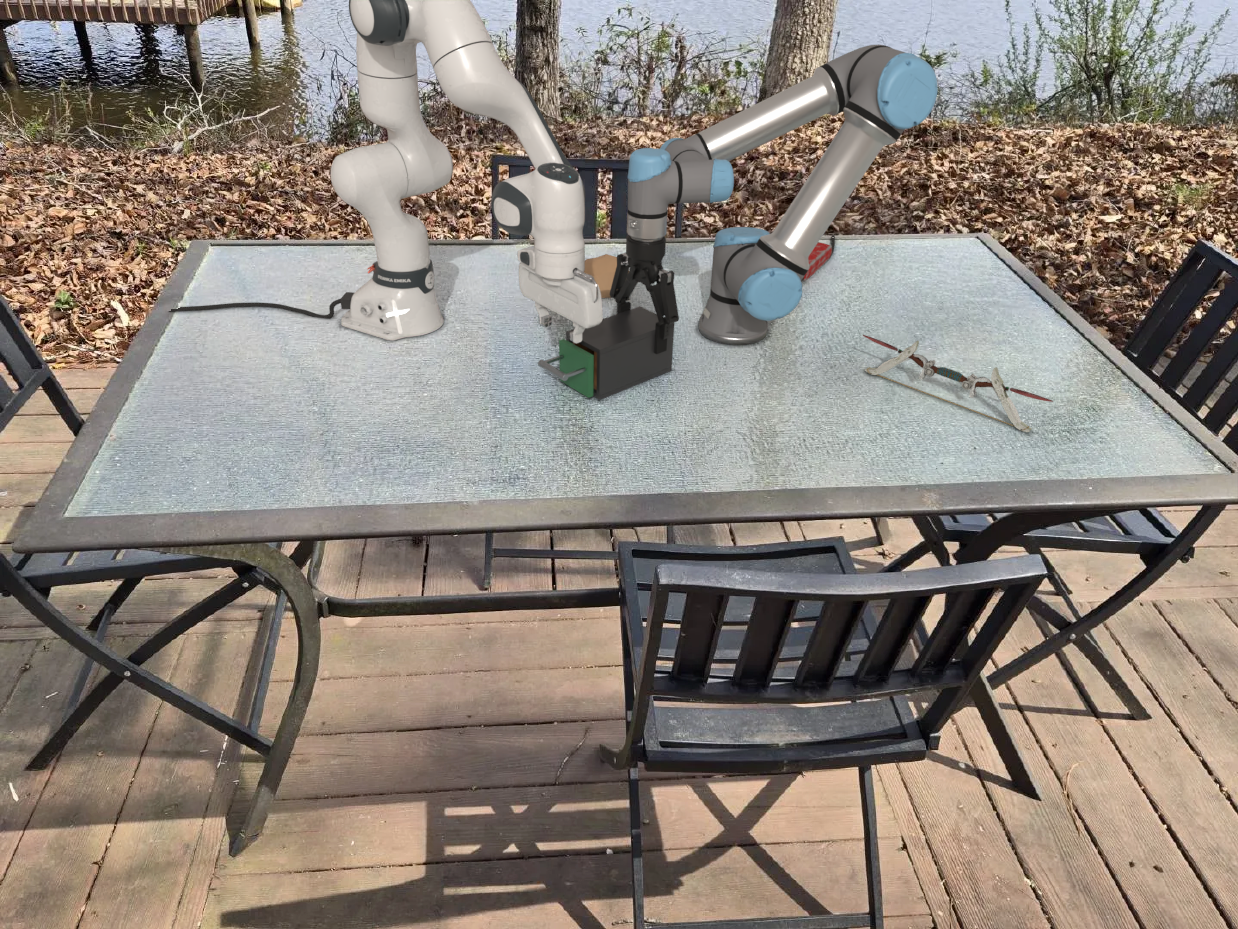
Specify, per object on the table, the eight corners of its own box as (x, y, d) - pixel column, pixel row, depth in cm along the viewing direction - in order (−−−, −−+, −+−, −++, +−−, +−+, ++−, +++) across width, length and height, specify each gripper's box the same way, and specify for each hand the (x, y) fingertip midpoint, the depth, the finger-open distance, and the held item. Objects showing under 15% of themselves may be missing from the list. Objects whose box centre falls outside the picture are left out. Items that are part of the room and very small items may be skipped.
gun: (720, 263, 218) (793, 282, 210) (769, 227, 240) (836, 243, 232) (718, 280, 221) (790, 299, 213) (767, 243, 243) (833, 259, 235)
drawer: (565, 407, 164) (564, 365, 160) (536, 389, 170) (535, 348, 165) (657, 370, 178) (659, 330, 173) (627, 354, 183) (629, 315, 178)
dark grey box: (599, 400, 169) (600, 349, 163) (566, 380, 175) (565, 331, 169) (671, 370, 180) (674, 322, 174) (638, 353, 186) (639, 306, 180)
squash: (632, 302, 209) (628, 269, 203) (549, 309, 210) (543, 277, 204) (632, 277, 217) (628, 245, 210) (552, 285, 218) (546, 253, 212)
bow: (1043, 434, 162) (1060, 387, 156) (1039, 438, 161) (1056, 390, 155) (858, 366, 183) (867, 322, 178) (854, 369, 182) (862, 324, 177)
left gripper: (612, 274, 149) (610, 347, 157) (539, 241, 162) (541, 311, 170) (583, 283, 146) (583, 357, 153) (511, 249, 158) (514, 319, 166)
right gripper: (592, 223, 170) (591, 328, 183) (674, 257, 156) (667, 367, 169) (621, 216, 175) (618, 319, 187) (703, 248, 160) (694, 356, 173)
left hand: (560, 333), depth 162 cm, fingers open, 8 cm apart
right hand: (641, 342), depth 178 cm, fingers closed on dark grey box, 10 cm apart
